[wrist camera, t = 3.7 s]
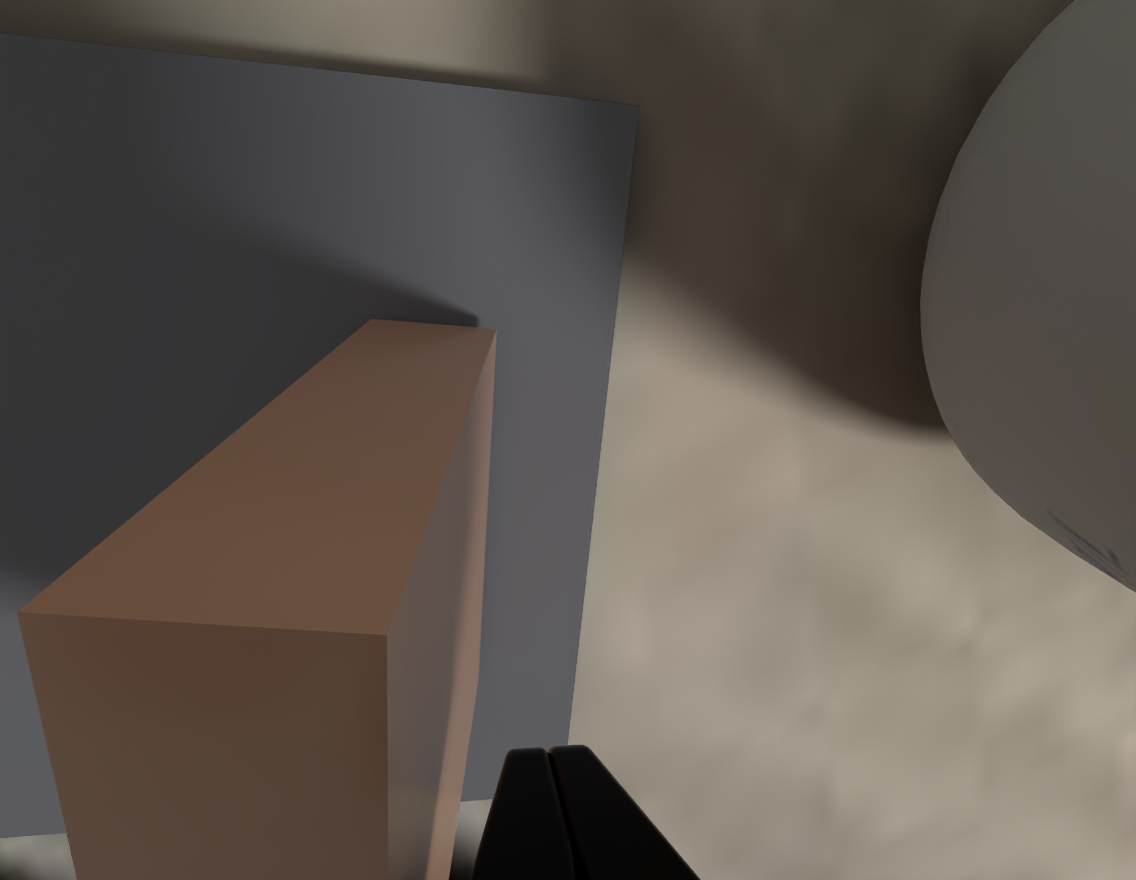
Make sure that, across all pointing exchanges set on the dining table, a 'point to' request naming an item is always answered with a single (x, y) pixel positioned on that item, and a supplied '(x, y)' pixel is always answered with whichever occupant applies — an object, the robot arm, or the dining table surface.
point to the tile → (285, 634)
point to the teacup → (1047, 287)
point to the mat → (294, 319)
